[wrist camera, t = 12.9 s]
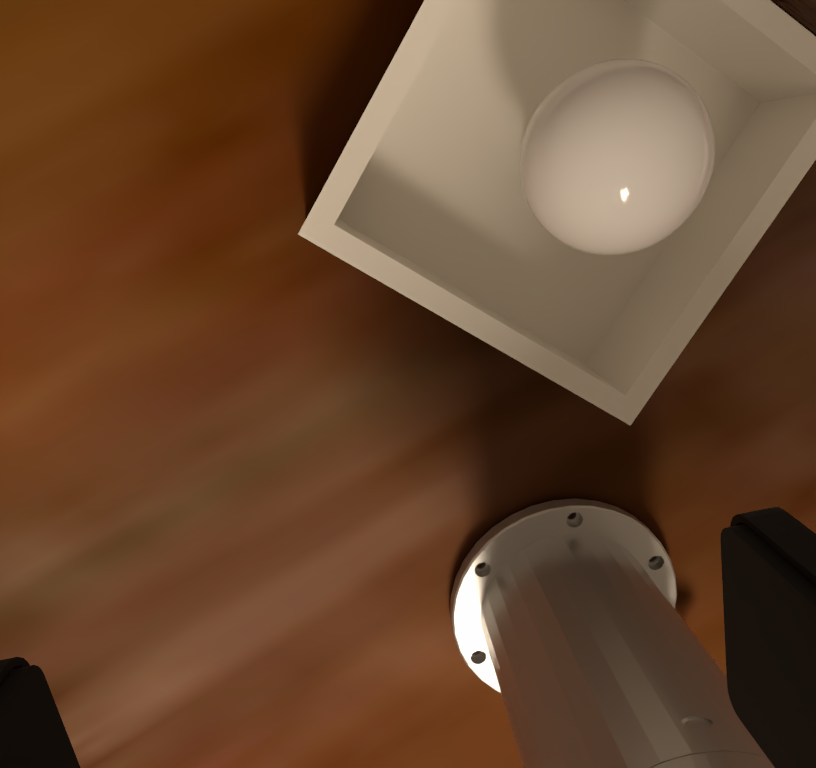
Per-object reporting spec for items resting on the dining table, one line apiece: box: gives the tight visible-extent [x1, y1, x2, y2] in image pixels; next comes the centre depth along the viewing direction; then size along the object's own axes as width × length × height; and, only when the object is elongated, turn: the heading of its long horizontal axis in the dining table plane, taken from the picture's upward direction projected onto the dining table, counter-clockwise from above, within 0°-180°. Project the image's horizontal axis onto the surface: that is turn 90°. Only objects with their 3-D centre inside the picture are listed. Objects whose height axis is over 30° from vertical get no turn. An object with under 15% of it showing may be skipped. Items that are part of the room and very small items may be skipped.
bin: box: [298, 0, 816, 426], centre depth 29 cm, size 16×16×6 cm
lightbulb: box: [519, 58, 715, 255], centre depth 26 cm, size 6×6×11 cm
